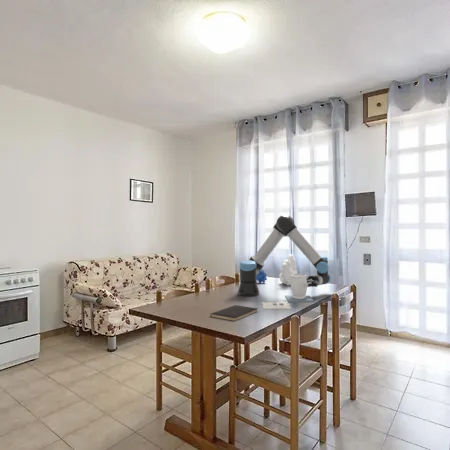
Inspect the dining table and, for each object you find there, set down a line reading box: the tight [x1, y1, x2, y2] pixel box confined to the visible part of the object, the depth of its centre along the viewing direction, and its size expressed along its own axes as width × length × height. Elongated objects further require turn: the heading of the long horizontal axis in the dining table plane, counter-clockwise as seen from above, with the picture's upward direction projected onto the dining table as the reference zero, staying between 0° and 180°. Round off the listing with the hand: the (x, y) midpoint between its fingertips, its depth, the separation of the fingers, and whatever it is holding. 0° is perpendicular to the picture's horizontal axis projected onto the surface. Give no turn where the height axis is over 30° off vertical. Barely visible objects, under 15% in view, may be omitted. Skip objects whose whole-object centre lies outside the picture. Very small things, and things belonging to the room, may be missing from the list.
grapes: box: [256, 269, 268, 284], centre depth 285 cm, size 12×7×12 cm, turn 66°
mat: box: [284, 294, 315, 303], centre depth 219 cm, size 16×16×1 cm
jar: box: [290, 273, 308, 299], centre depth 219 cm, size 11×10×15 cm
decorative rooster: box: [278, 253, 298, 286], centre depth 276 cm, size 25×16×25 cm, turn 138°
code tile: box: [261, 301, 292, 310], centre depth 203 cm, size 16×16×1 cm
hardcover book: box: [210, 304, 259, 321], centre depth 185 cm, size 16×23×2 cm
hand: (295, 284), depth 217 cm, fingers open, 13 cm apart
